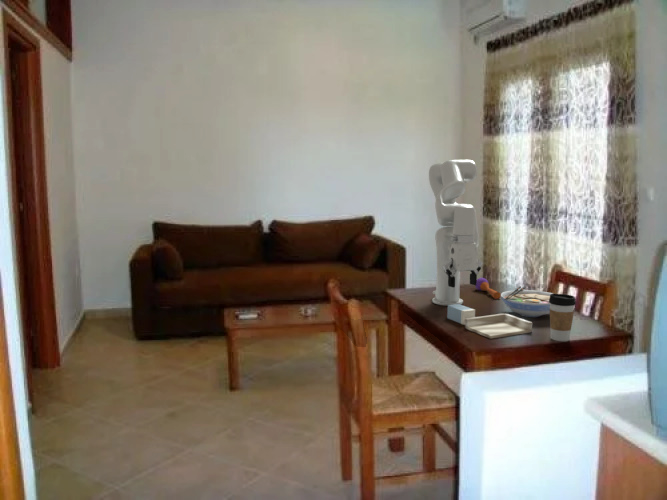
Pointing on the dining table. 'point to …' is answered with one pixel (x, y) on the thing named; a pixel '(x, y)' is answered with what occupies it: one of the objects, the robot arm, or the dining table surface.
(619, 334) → the dining table surface
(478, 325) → the beige tray
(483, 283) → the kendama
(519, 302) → the ramen bowl
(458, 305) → the light blue white block
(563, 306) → the coffee cup
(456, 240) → the robot arm
